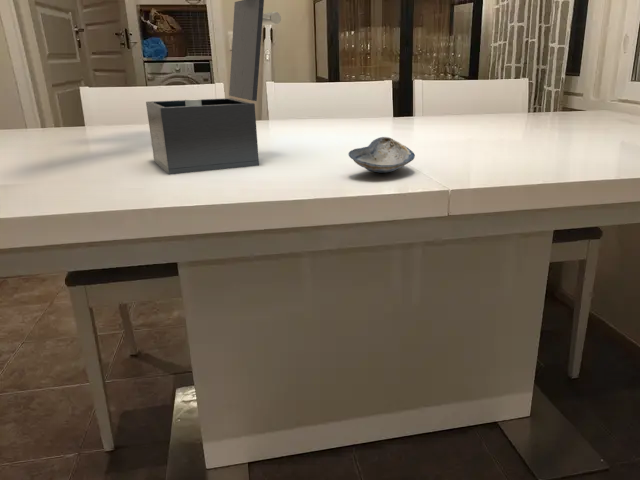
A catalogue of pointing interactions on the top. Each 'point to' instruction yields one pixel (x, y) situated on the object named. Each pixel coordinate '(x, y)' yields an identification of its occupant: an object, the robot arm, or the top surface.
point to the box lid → (248, 46)
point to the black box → (203, 135)
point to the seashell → (382, 155)
